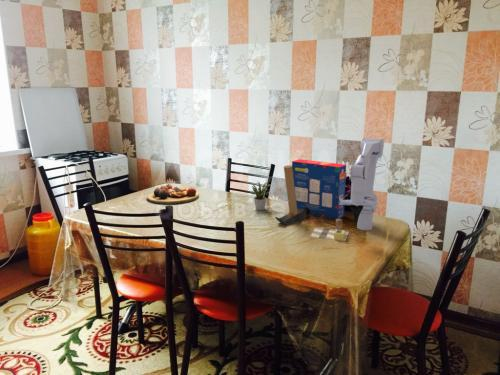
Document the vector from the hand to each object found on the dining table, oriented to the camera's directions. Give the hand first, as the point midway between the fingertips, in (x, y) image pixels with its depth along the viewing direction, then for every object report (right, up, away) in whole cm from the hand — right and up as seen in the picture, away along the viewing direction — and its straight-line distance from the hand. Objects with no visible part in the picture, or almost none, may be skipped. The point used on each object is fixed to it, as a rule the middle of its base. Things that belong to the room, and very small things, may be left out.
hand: (356, 221), depth 191 cm
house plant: (-40, +3, +53) cm, 67 cm away
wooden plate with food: (-95, +8, +78) cm, 123 cm away
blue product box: (-11, +1, +44) cm, 45 cm away
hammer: (-25, -2, +32) cm, 40 cm away
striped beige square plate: (-10, -7, +10) cm, 16 cm away
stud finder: (-7, -8, +4) cm, 11 cm away
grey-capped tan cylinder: (-5, -6, +12) cm, 14 cm away
